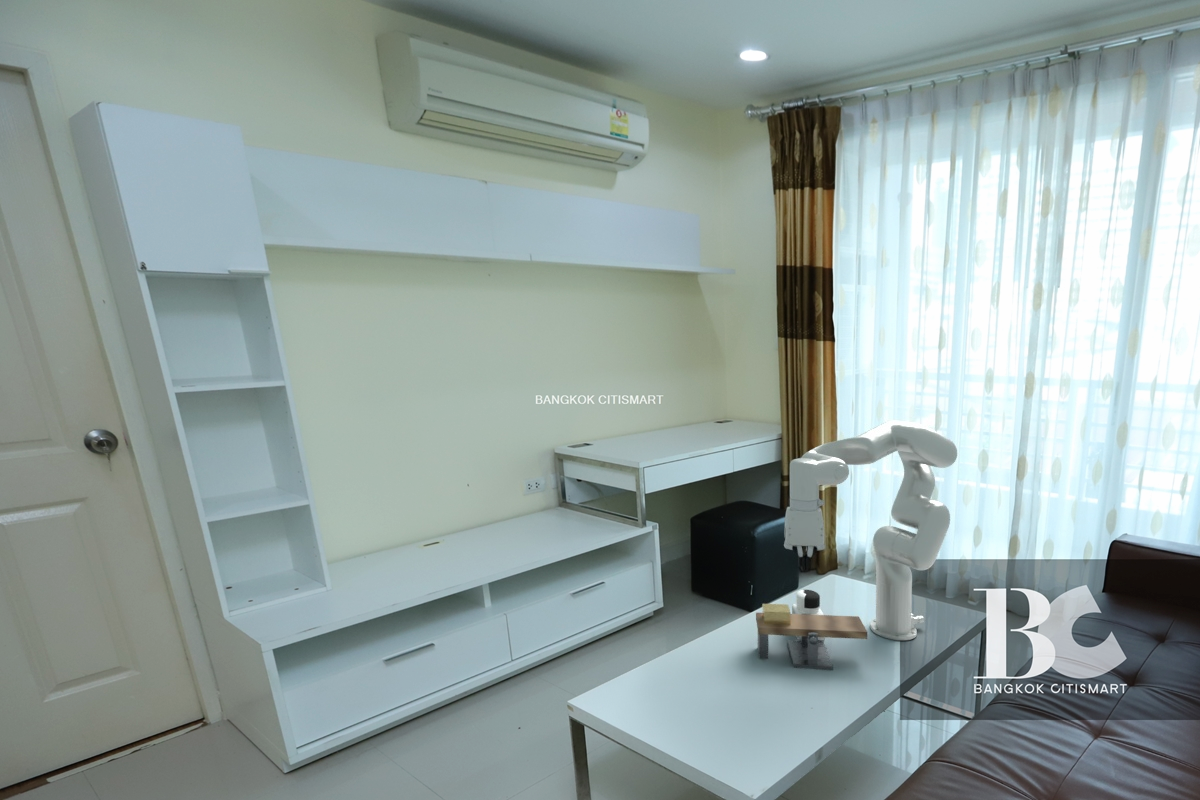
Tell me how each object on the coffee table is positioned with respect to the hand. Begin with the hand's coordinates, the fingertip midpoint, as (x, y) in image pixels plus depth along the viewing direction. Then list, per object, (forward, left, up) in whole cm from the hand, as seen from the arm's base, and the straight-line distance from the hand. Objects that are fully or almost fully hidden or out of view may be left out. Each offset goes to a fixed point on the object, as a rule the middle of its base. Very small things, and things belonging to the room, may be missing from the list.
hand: (804, 569), depth 164 cm
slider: (+7, -3, -15) cm, 17 cm away
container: (-8, -10, -25) cm, 28 cm away
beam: (-1, +1, -17) cm, 17 cm away
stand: (+3, -1, -25) cm, 25 cm away
